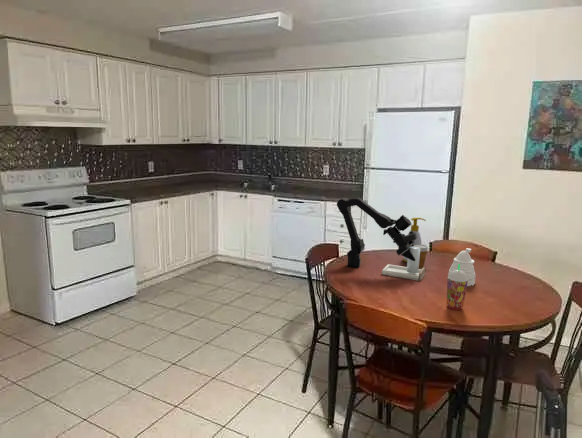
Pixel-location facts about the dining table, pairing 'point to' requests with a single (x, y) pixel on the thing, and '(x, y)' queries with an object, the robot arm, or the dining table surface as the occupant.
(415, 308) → the dining table surface
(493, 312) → the dining table surface
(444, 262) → the dining table surface
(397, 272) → the drawer
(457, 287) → the smoothie
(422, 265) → the disposable coffee cup
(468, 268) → the honey pot
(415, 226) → the soap bottle
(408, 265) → the white rounded wedge
